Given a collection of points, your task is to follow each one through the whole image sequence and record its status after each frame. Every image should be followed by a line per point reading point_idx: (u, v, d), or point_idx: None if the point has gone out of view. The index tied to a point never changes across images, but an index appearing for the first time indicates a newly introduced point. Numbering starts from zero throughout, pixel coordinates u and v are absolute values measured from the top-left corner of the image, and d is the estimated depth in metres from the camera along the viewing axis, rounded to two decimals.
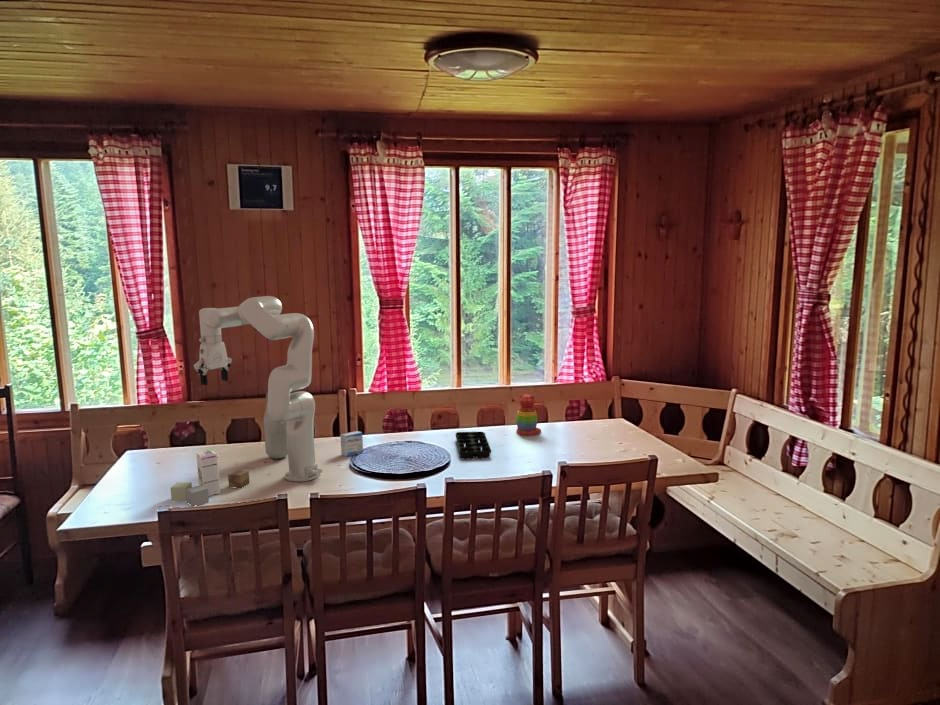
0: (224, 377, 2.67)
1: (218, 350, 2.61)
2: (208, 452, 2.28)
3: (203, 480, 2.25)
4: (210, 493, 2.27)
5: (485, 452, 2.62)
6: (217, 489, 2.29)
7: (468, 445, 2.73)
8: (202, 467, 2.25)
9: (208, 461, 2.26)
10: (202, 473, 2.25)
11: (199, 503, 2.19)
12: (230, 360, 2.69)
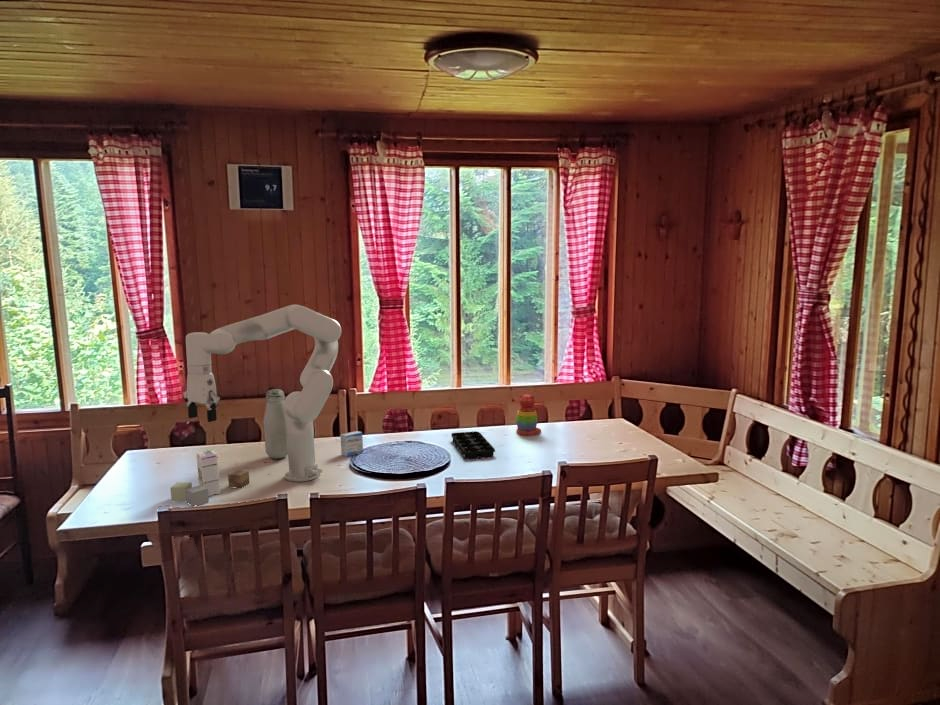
0: (194, 413, 2.28)
1: None
2: (208, 452, 2.28)
3: (203, 480, 2.25)
4: (210, 493, 2.27)
5: (490, 451, 2.63)
6: (217, 489, 2.29)
7: (469, 445, 2.73)
8: (202, 467, 2.25)
9: (208, 461, 2.26)
10: (202, 473, 2.25)
11: (199, 503, 2.19)
12: None
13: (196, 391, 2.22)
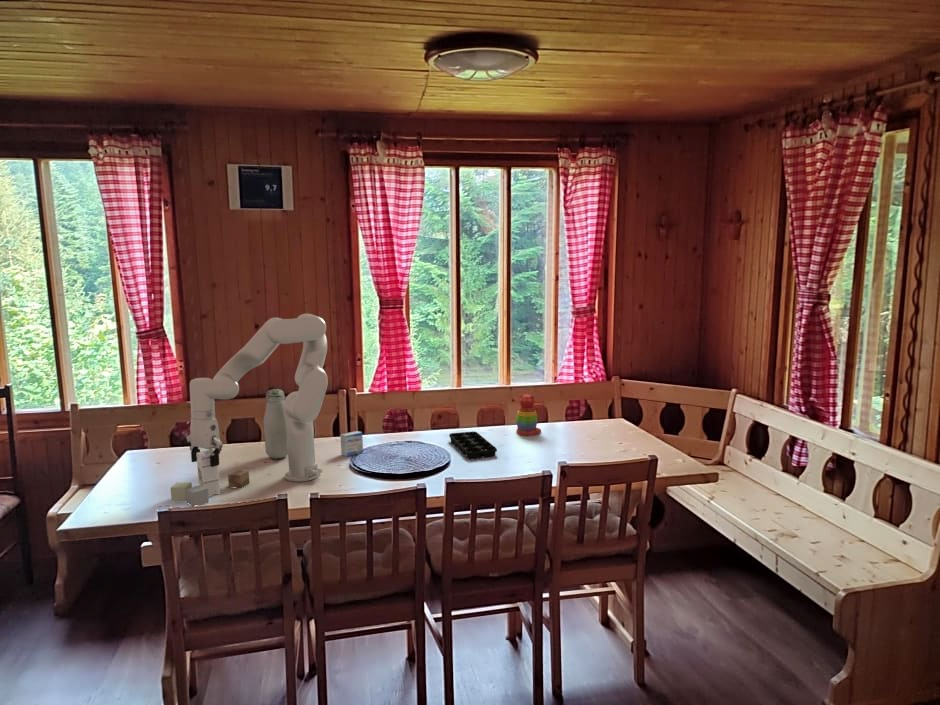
0: None
1: None
2: (208, 452, 2.28)
3: (203, 480, 2.25)
4: (210, 493, 2.27)
5: (492, 451, 2.64)
6: (217, 489, 2.29)
7: (469, 445, 2.73)
8: (202, 467, 2.25)
9: (208, 461, 2.26)
10: (202, 473, 2.25)
11: (199, 503, 2.19)
12: None
13: (199, 436, 2.24)
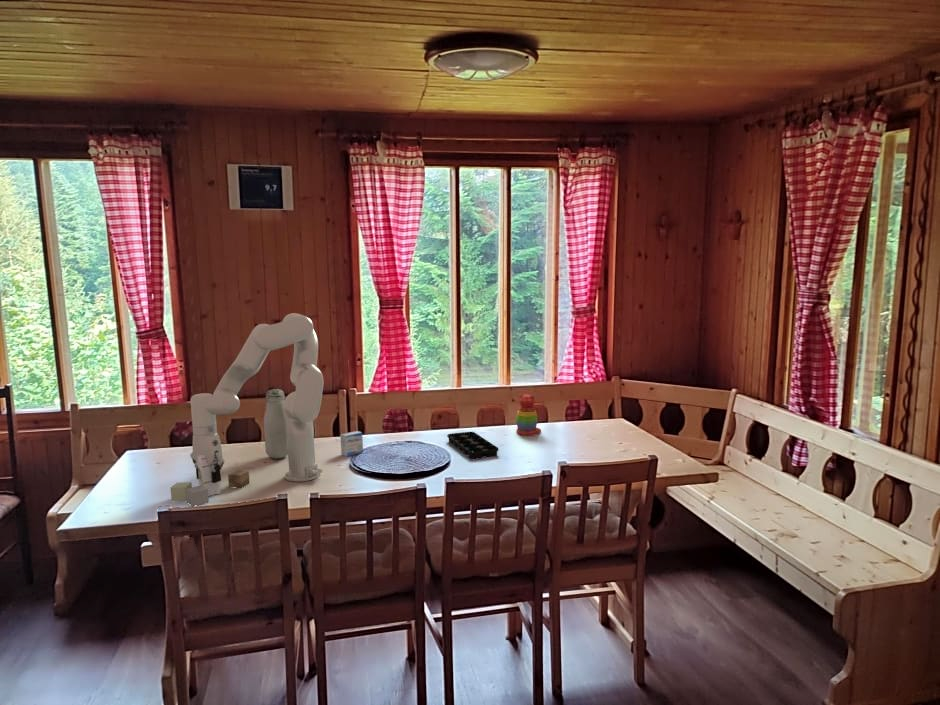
0: None
1: None
2: None
3: (203, 480, 2.25)
4: (210, 493, 2.27)
5: (494, 450, 2.64)
6: (217, 489, 2.29)
7: (470, 445, 2.72)
8: (202, 467, 2.25)
9: None
10: (202, 473, 2.25)
11: (199, 503, 2.19)
12: None
13: (202, 452, 2.25)
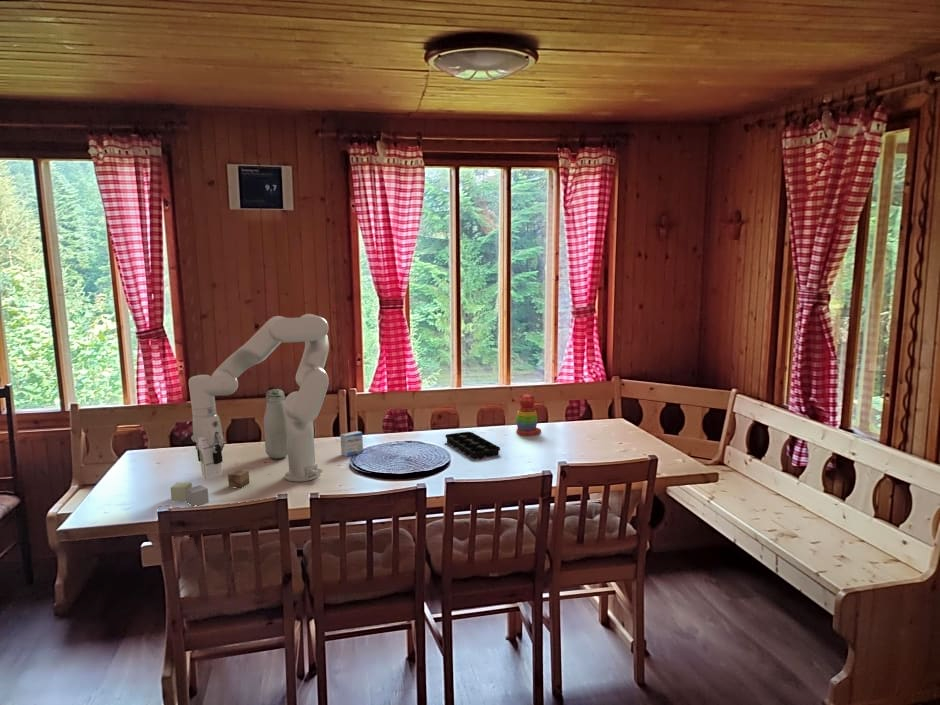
0: None
1: None
2: None
3: (205, 462, 2.25)
4: (212, 475, 2.27)
5: (496, 450, 2.65)
6: (219, 470, 2.28)
7: (470, 445, 2.72)
8: (203, 449, 2.24)
9: None
10: (203, 455, 2.25)
11: (199, 503, 2.19)
12: None
13: (202, 434, 2.24)
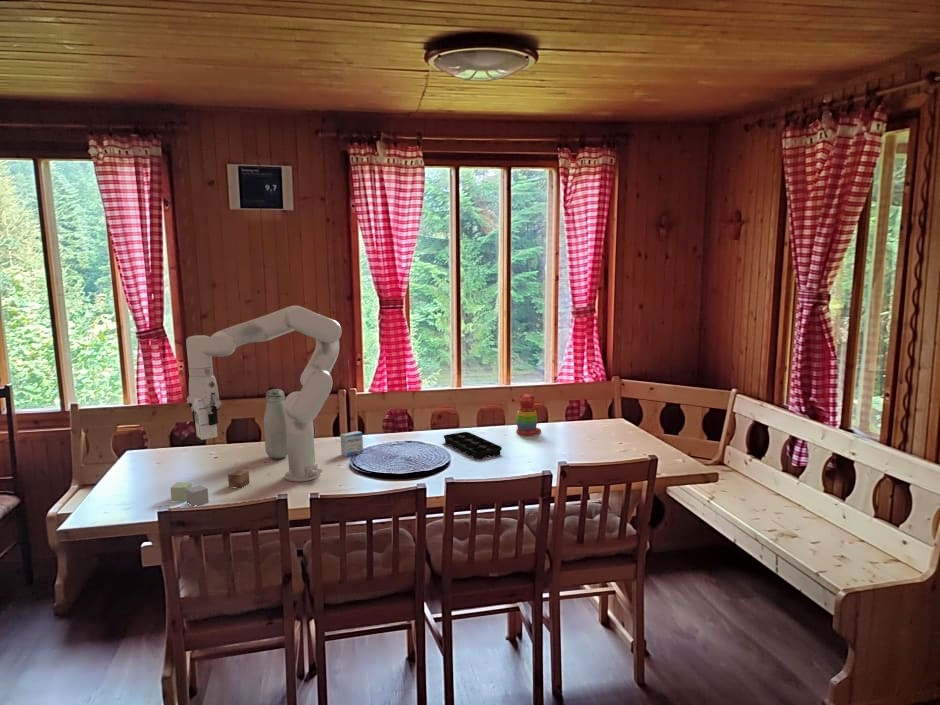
0: None
1: None
2: None
3: (200, 422, 2.24)
4: (207, 436, 2.26)
5: (498, 449, 2.66)
6: (214, 432, 2.27)
7: (471, 445, 2.72)
8: (199, 409, 2.23)
9: None
10: (199, 415, 2.23)
11: (199, 503, 2.19)
12: None
13: (198, 394, 2.23)
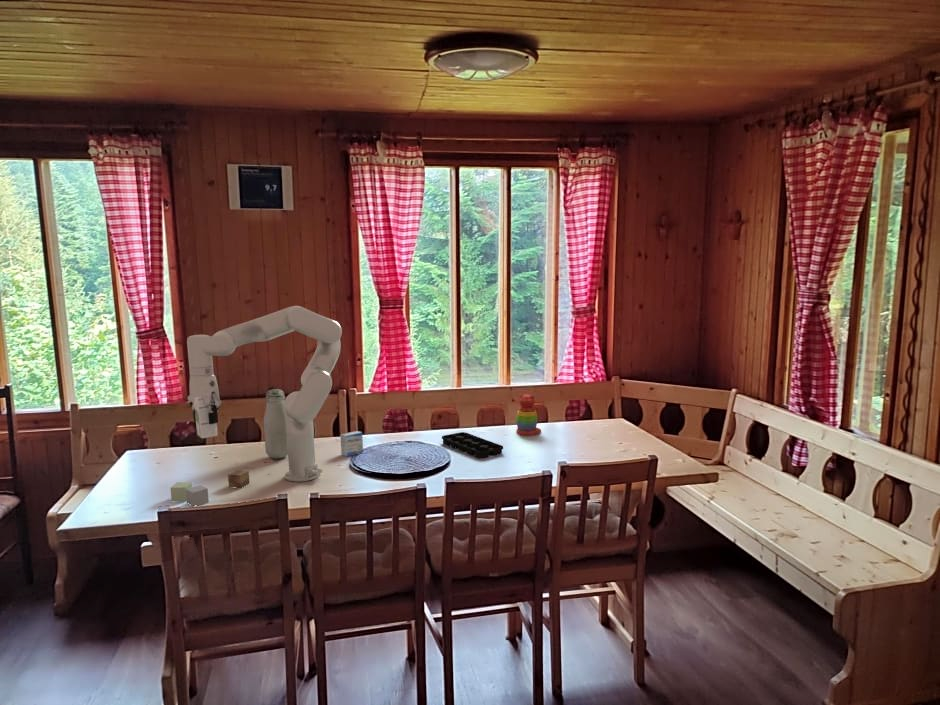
0: None
1: None
2: None
3: (200, 421, 2.25)
4: (207, 435, 2.27)
5: (500, 449, 2.67)
6: (215, 431, 2.28)
7: (472, 445, 2.72)
8: (199, 408, 2.24)
9: None
10: (199, 414, 2.25)
11: (199, 503, 2.19)
12: None
13: (199, 393, 2.25)
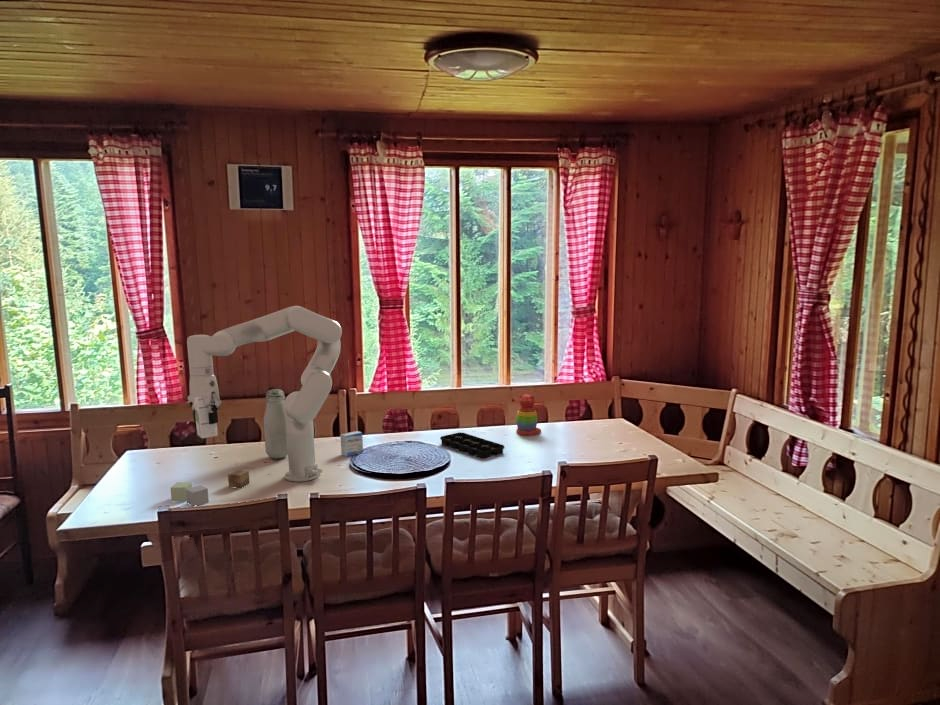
0: None
1: None
2: None
3: (200, 421, 2.25)
4: (207, 435, 2.27)
5: (501, 448, 2.67)
6: (215, 431, 2.28)
7: (472, 445, 2.72)
8: (199, 408, 2.24)
9: None
10: (199, 414, 2.25)
11: (199, 503, 2.19)
12: None
13: (199, 393, 2.25)
